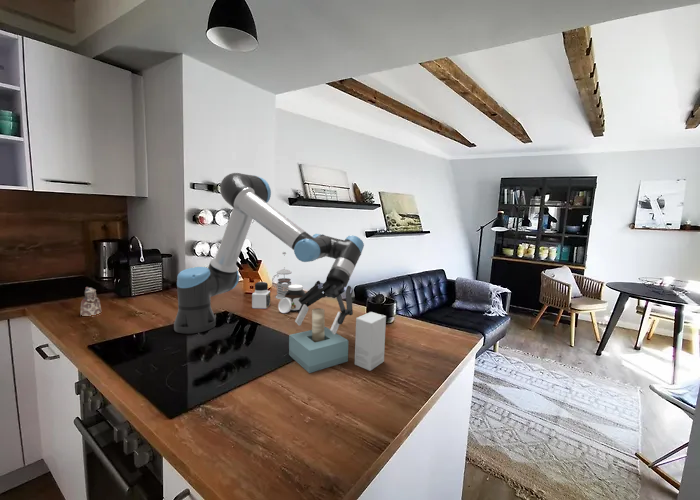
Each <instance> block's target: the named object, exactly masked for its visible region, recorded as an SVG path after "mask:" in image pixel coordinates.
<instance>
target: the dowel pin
mask: <svg viewBox="0 0 700 500" xmlns="http://www.w3.org/2000/svg"><path fill="white" fill-rule="evenodd" d="M324 327H325V309H324V308H320V307H319V308H313V309H312V310H311V330H312V341H314V342H319V341H323V340H325V337H324Z"/></svg>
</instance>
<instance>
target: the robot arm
mask: <svg viewBox="0 0 700 500" xmlns="http://www.w3.org/2000/svg"><path fill="white" fill-rule="evenodd" d="M219 191H220V195H221V196H222V198H223V199H224V201H225V202H226V203H227V204H228V205H229V206H230V207H232V211H231V213H230V216H229V218H228V221H227V223H226V224H227V225H226V228H225V230H224V233H223V236H222V240H221V241H220V245H219V247H218V250H217V254H216V256H215V257H214V258H212V259H211V260H210V261H209V265H208V266H207V267H206V266H195V267H189V268H186V269H183V270H181V271H180V272H179V273H178V274H177V277H176V279H177V280H176V286H177V288H176V289H177V305H178V306H177V307H178V309H177V314H176V316H175V319H174V322H173V330H174V332H175V333H179V334H184V335H185V334H187V335H188V334H190V335H191V334H199V333H203V332H207V331H209V330H212V329H213V328H215V326H216V325H217V324H216V323H217V319H216V316H215V314H214V312H213V309H212V305H211V300H212V299H211V297H215V296H218V295H221V294H224V293H228V292H230V291H231V290H233V289H235V287H236V286H237V285H238V284H239V282H240V281H239V280H240V275H239V270H238V269H239V268H238V265H237V262H238V259H239V257H240V253H241V251H242V249H243V246H244V243H245V240H246V238H247V235H248V232H249V229H250V227H251V226H252V225H251V224H252V221H255V222H256V223H257V224H259V225H260V226H262V228H264V229H265V230H266V231H268V232H269V233H271V234H272V235H274V237H276V238H277V239H279V241H281V242H282V243H283V244H285V245H286V246H288V247H289V248H291V249H292V250H293V253H294V255H295V257H296V258H297V260H298V261H300V262H303V263H307V262H308V263H310V262H314V261H316V260H319V259H322V258H330V259H335V260H334V262H333V263H332V266H330V267H331V268H330V270H329V272H328V273H327V276H326V279H325V282H321V281H320V280H317V281H316V282H315V283H314V285H313V286H312V287H311V288H310V289H308V290H307V291H306V292H305V294H304V295H303V296H302V297H301V298H300V299H299V302H300V303H301V304H302V305H301V307H300V309H299V311H298V312H297V313H298V315H297V317H296V318H295V320H294V322H295V323H296V324H297V326H300V327H301V326H302V323H303V321H304V319H305V318H306V315H307V313H308V312H309V309H310V308H309V307H310V306H312V305H313V304H314V303H315V304H316V302H318V301H320V299H323V298H331V299H335V298H336V302H337V303H338V307H339V310H340V311H337V314H336V315H335V318H334V320H333V322H332V324H331V327H330V328H329V329H330V331H331V332H332V333H333V334H336V333H337V331H338V329H339V328H340V327H339V326H340V325H343V323H344V321H345V319H346V317H347V316H352V315H353V313H354V310H353V298H352V296H353V295H352V294H353V292H354V289H353V288H352V286H351V285H348V284H349V281H350V278H351V277H352V274H353V273H354V270H355V267H356V265H357V263H358V262H359V259H360V258H361V255H362V253H363V250H364V246H365V243H364V241H363V239H361V238H360V237H358V236H356V235H348V236H346V238H345V239H339V238H337V237H332V236H328V235H325V234H320V233H315V234H313V235H310V233H308V232H307V231H305V230H304V229H302V228H301V227H300V226H298V225H297V224H296V223H294V221H292V220H291V219H289V218H288V217H286V215H284V214H282V213H281V212H280V211H278V210H277V209H276V208H274V207H273V206H272V205H271V204H269V201H270V199H271V195H272V191H271V187H270V184H269V183H268V181H267V180H266V179H264V178H263V177H260V176H257V175H251V174H245V173H240V172H232V173H229V174H227V175H226V176H224V178H222V180H221V182H220V186H219ZM347 285H348V286H347ZM344 293H345V302H346V303H345V304H344V301H343V297H342V294H344ZM345 305H346V306H345Z"/></svg>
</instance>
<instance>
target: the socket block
mask: <svg viewBox="0 0 700 500" xmlns="http://www.w3.org/2000/svg"><path fill="white" fill-rule="evenodd" d="M330 329H331V328H329V327H327V326H324V337H325V340H323V341H319V342H314V341H312V329H311V330H310V329H309V330H306V331H301V332H296V333H290V334H288V336H289V337H288V349H289V351H288V355H289V356H290V358H291V359H293V360H294V361H295V362H296V363H297V364H298V365H300V366H301V368H303V369H304V370H305V371H306V372H308V374H311V373H315V372H319V371H321V370H324V369H327V368H330V367H331V368H332V367H333V366H337V365H340V364H344V363H346V362H349V339H347V338H345V337H343V336H341V335H340V334H338V333H337V332H336V334H333V333H332V332H331V331H330Z"/></svg>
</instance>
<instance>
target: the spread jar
mask: <svg viewBox="0 0 700 500" xmlns="http://www.w3.org/2000/svg"><path fill="white" fill-rule="evenodd" d="M287 289H288V290H286V291H287V292H286V294H285V298H283V299H279V302H278V304H277V308H278V311H279V312H280V313H282V314H287V313H289V312H291V313H298V311H299V309H300V307H301V305H302V304H301V303H300V302H299V299H300V298H301V297H302V296H303V295H304V294H305V293H306V292H305V290H303V285H302V284H291V285H289V286H288V288H287Z"/></svg>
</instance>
